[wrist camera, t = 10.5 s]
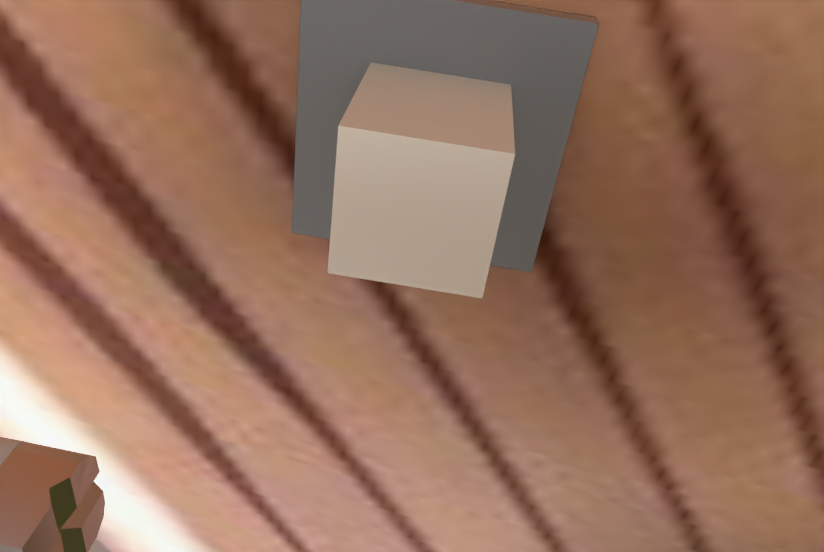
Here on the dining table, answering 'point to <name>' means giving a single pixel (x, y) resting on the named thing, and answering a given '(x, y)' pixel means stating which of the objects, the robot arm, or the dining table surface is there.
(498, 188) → the cream block
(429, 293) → the dining table surface
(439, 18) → the slate coaster
